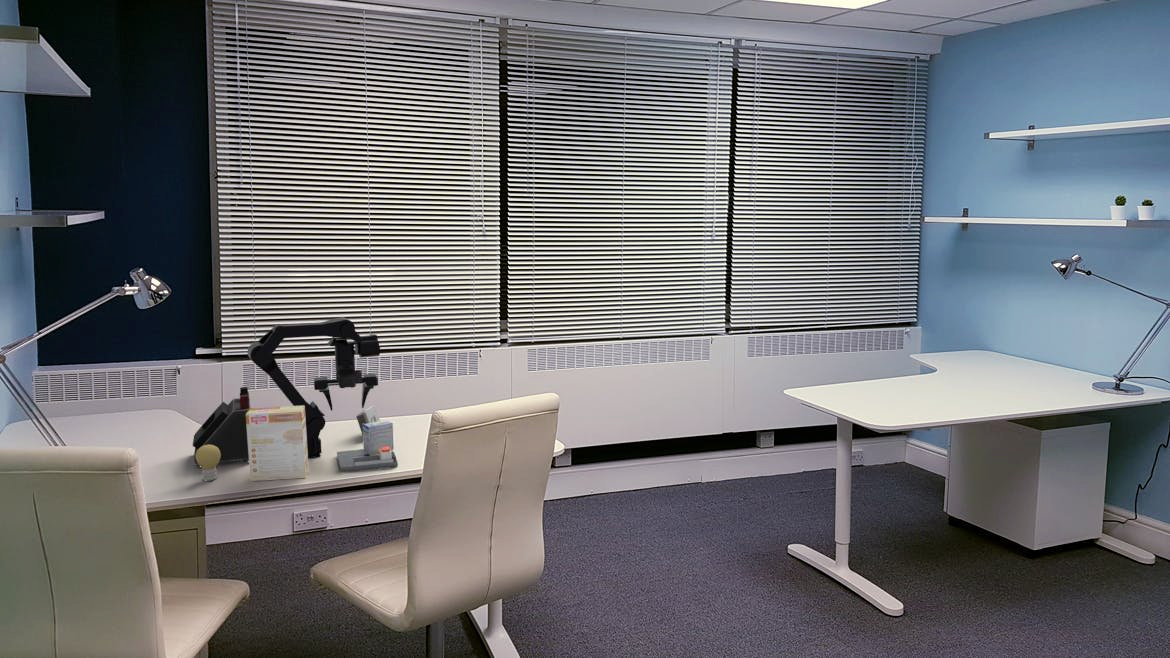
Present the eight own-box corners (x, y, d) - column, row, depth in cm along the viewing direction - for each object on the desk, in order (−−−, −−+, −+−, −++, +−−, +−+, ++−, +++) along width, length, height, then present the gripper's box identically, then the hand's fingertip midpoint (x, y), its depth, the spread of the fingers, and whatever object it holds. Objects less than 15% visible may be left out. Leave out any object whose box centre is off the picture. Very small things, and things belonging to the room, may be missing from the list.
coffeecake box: (309, 470, 261) (305, 404, 258) (305, 478, 254) (301, 411, 251) (254, 473, 259) (250, 407, 255) (249, 481, 252) (245, 413, 248)
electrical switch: (374, 439, 292) (370, 411, 290) (358, 440, 292) (354, 412, 291) (383, 431, 301) (379, 404, 300) (368, 432, 302) (364, 405, 300)
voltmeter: (196, 453, 278) (191, 390, 274) (253, 448, 283) (249, 385, 280) (193, 469, 263) (188, 402, 259) (253, 463, 268) (249, 397, 265)
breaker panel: (341, 472, 259) (340, 462, 259) (336, 456, 274) (336, 447, 274) (397, 466, 264) (397, 457, 264) (390, 451, 279) (390, 442, 279)
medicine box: (387, 447, 277) (385, 419, 276) (394, 450, 274) (393, 422, 272) (363, 452, 272) (361, 424, 271) (370, 455, 269) (369, 427, 267)
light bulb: (208, 475, 257) (205, 441, 256) (227, 477, 256) (224, 442, 254) (192, 482, 251) (189, 447, 250) (211, 484, 249) (209, 449, 248)
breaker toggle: (381, 462, 264) (381, 450, 263) (379, 458, 267) (379, 446, 267) (391, 461, 264) (391, 449, 264) (390, 457, 268) (389, 445, 268)
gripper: (313, 366, 266) (316, 418, 268) (379, 362, 271) (381, 412, 274) (312, 359, 276) (315, 409, 279) (375, 355, 282) (377, 404, 284)
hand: (347, 409), depth 279 cm, fingers open, 9 cm apart
